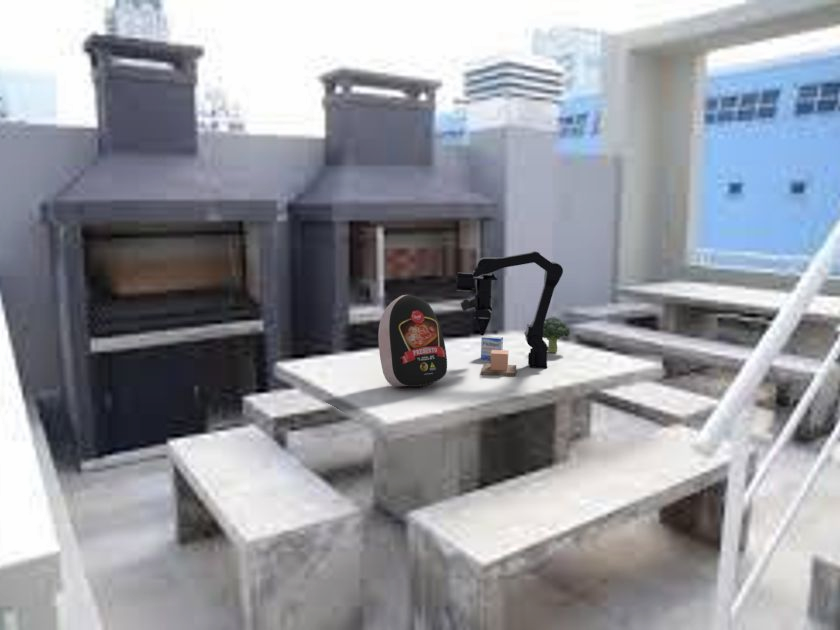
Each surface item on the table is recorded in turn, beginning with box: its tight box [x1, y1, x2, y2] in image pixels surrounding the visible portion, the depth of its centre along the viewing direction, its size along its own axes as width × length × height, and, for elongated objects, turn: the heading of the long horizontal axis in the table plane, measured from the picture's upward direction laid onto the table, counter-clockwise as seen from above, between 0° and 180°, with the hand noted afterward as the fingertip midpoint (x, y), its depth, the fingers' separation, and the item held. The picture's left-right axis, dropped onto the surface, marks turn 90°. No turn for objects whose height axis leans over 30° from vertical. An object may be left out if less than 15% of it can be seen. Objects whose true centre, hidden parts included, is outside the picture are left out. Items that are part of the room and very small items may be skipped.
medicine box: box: [480, 335, 504, 361], centre depth 268 cm, size 8×4×9 cm, turn 73°
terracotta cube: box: [490, 350, 509, 371], centre depth 248 cm, size 6×6×6 cm
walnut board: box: [481, 363, 517, 377], centre depth 248 cm, size 12×12×1 cm
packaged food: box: [377, 294, 448, 387], centre depth 227 cm, size 22×20×30 cm
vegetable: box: [543, 316, 571, 353], centre depth 279 cm, size 12×13×15 cm
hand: (482, 332), depth 256 cm, fingers open, 9 cm apart
